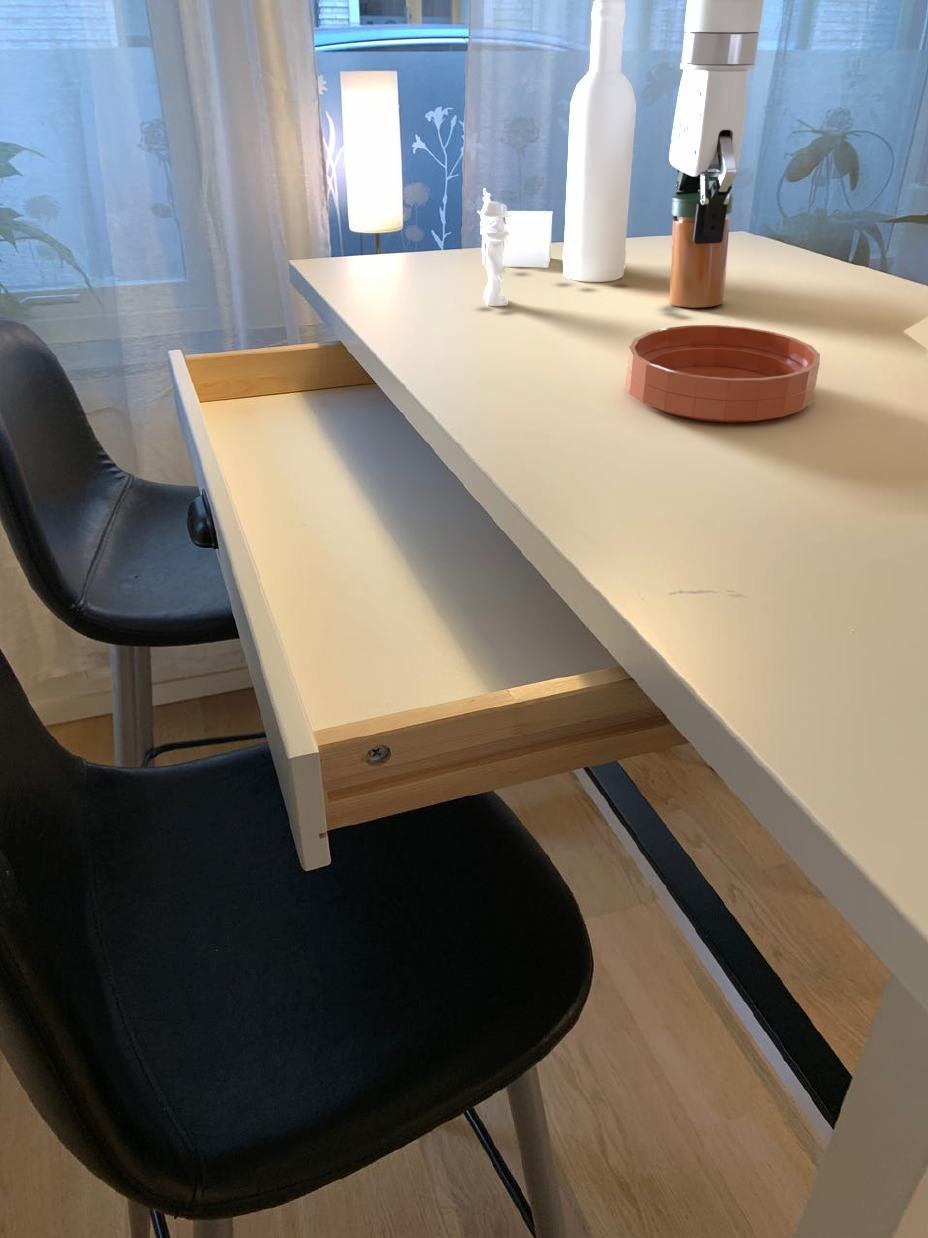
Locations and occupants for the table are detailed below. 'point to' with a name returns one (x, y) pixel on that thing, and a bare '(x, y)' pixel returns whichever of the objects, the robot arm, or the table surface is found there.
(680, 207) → the lid
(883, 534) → the table surface
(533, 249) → the white cube
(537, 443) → the table surface
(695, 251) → the jar
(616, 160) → the bottle
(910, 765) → the table surface
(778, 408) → the bowl
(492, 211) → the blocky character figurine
